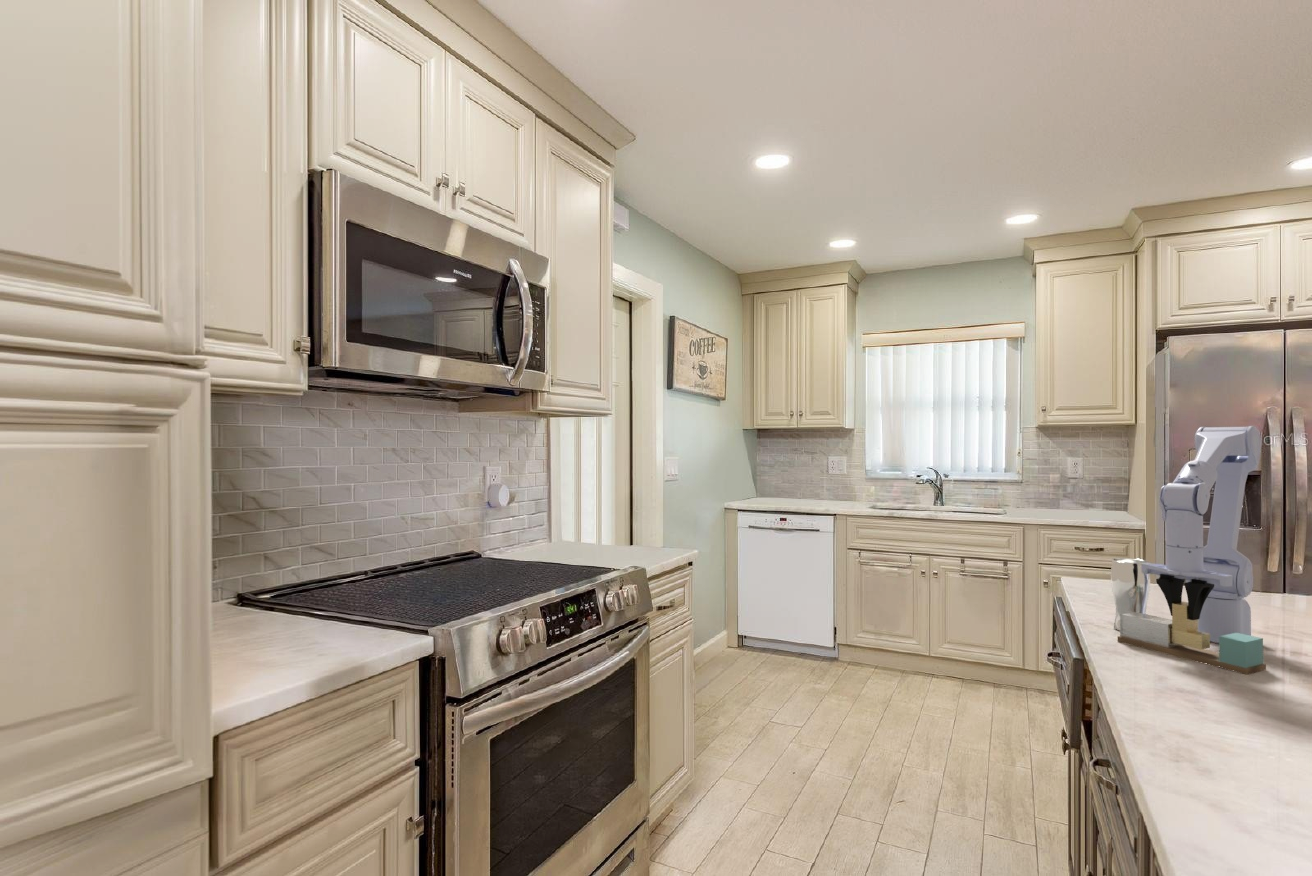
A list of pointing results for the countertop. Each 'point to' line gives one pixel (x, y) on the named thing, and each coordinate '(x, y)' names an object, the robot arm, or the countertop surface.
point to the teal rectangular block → (1241, 650)
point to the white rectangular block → (1146, 628)
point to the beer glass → (1129, 587)
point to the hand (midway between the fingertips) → (1184, 617)
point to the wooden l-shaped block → (1186, 628)
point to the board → (1193, 655)
